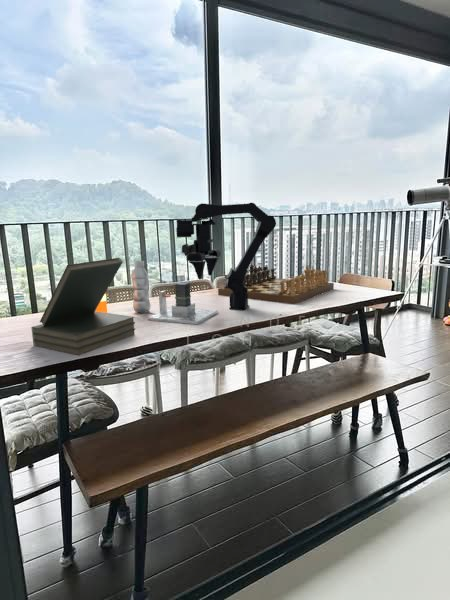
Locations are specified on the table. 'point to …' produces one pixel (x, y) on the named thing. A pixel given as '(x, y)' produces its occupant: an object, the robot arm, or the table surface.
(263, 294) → the chess set
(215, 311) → the base
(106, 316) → the bible
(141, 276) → the plastic bottle
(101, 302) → the orange juice
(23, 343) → the table surface
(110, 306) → the table surface
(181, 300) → the block
